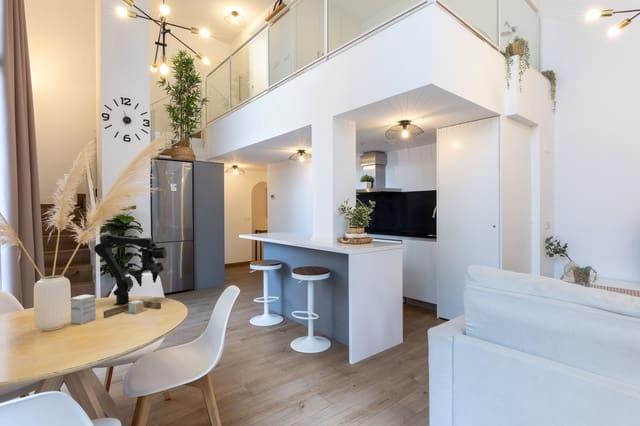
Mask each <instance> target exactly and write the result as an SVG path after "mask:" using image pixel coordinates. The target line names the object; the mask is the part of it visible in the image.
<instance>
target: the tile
mask: <svg viewBox="0 0 640 426" xmlns="http://www.w3.org/2000/svg"><path fill="white" fill-rule="evenodd" d="M143 309H144V310H142V311H139V312H136V313H133V312H129V310H128V311H125V312H123V313H124V314H128V313H129V315H137V313H138V314H141V313H143V312H146V311H148V310H149V308H148V309H147V308H143ZM140 312H141V313H140Z"/></svg>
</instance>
